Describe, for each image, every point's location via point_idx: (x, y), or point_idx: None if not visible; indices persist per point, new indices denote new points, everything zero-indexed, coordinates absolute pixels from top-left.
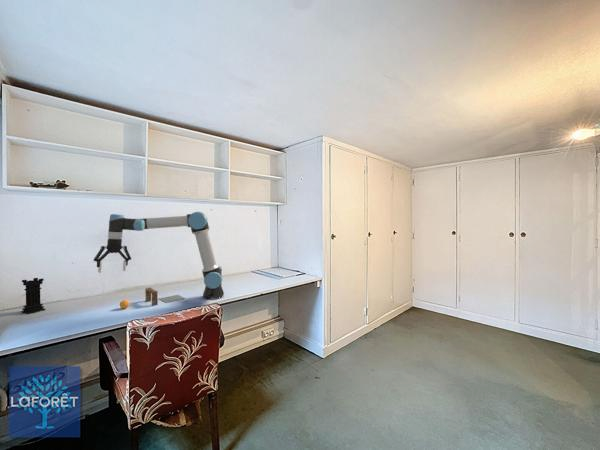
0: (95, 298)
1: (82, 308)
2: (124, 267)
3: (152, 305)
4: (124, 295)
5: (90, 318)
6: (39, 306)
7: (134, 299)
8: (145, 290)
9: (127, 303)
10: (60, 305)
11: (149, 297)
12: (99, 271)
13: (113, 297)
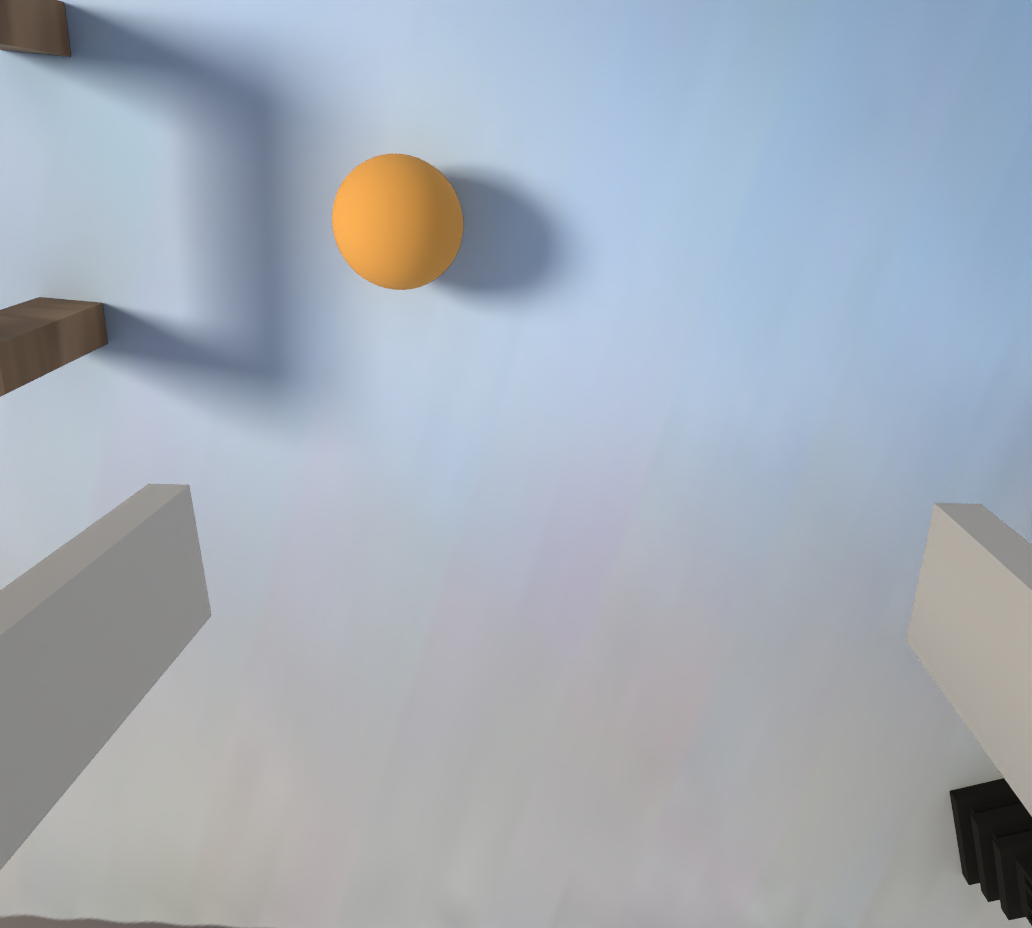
0: (516, 848)
1: (730, 600)
2: (119, 550)
3: (64, 18)
4: (261, 763)
5: (841, 114)
6: (1013, 832)
7: (207, 531)
8: (10, 390)
9: (372, 161)
10: (812, 836)
11: (27, 310)
12: (1007, 528)
13: (373, 768)
